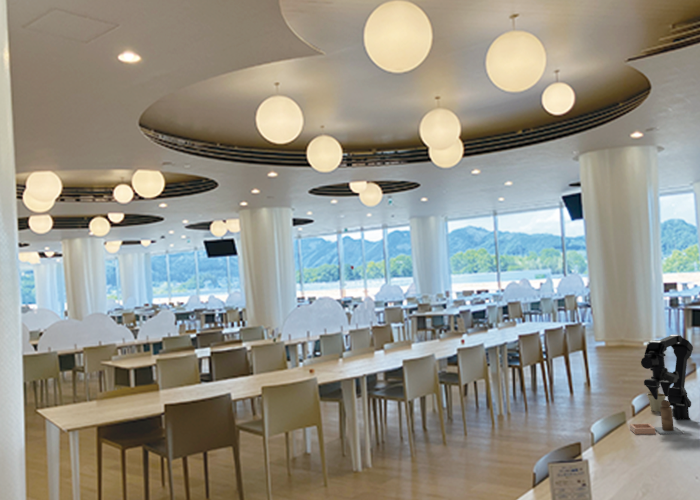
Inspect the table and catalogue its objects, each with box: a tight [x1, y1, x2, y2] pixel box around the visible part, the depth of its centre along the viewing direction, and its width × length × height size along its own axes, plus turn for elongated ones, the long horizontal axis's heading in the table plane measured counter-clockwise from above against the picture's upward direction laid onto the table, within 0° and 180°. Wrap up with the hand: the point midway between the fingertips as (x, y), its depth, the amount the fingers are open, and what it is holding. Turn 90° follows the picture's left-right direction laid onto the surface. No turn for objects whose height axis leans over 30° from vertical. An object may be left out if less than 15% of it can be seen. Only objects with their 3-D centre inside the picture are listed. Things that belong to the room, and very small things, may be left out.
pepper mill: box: [660, 399, 675, 431], centre depth 281 cm, size 5×5×14 cm
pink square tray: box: [629, 423, 657, 435], centre depth 284 cm, size 9×9×2 cm
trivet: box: [653, 426, 684, 435], centre depth 281 cm, size 10×10×1 cm
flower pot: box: [646, 392, 666, 413], centre depth 322 cm, size 9×9×9 cm
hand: (661, 397), depth 294 cm, fingers open, 9 cm apart
